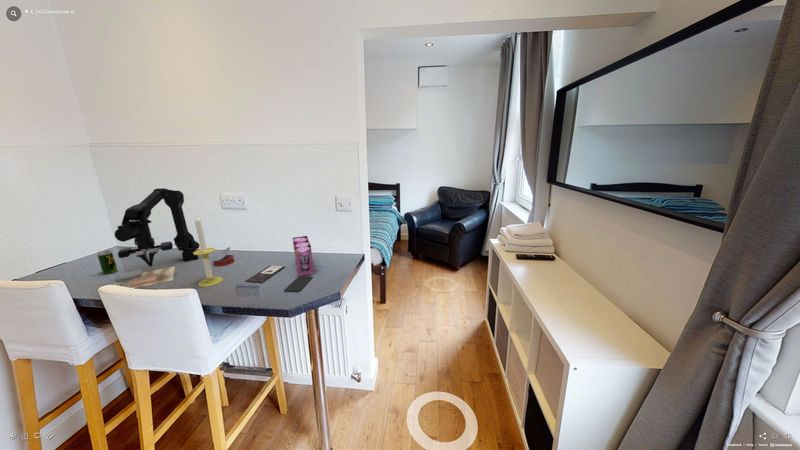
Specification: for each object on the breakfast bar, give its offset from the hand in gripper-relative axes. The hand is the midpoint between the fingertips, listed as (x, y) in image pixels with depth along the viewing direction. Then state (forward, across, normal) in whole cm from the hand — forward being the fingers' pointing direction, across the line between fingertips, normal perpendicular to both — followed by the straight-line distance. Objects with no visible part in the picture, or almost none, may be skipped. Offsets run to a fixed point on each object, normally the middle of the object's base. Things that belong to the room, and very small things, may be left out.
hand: (151, 266), depth 135 cm
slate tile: (+6, +6, -11) cm, 14 cm away
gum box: (+8, -63, +28) cm, 69 cm away
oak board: (+8, +4, -6) cm, 10 cm away
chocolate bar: (+8, -45, +25) cm, 52 cm away
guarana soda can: (+8, +20, -26) cm, 34 cm away
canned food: (+8, -29, -6) cm, 31 cm away
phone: (+8, -55, +46) cm, 72 cm away
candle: (+8, -22, +18) cm, 29 cm away
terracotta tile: (+6, -1, 0) cm, 6 cm away
